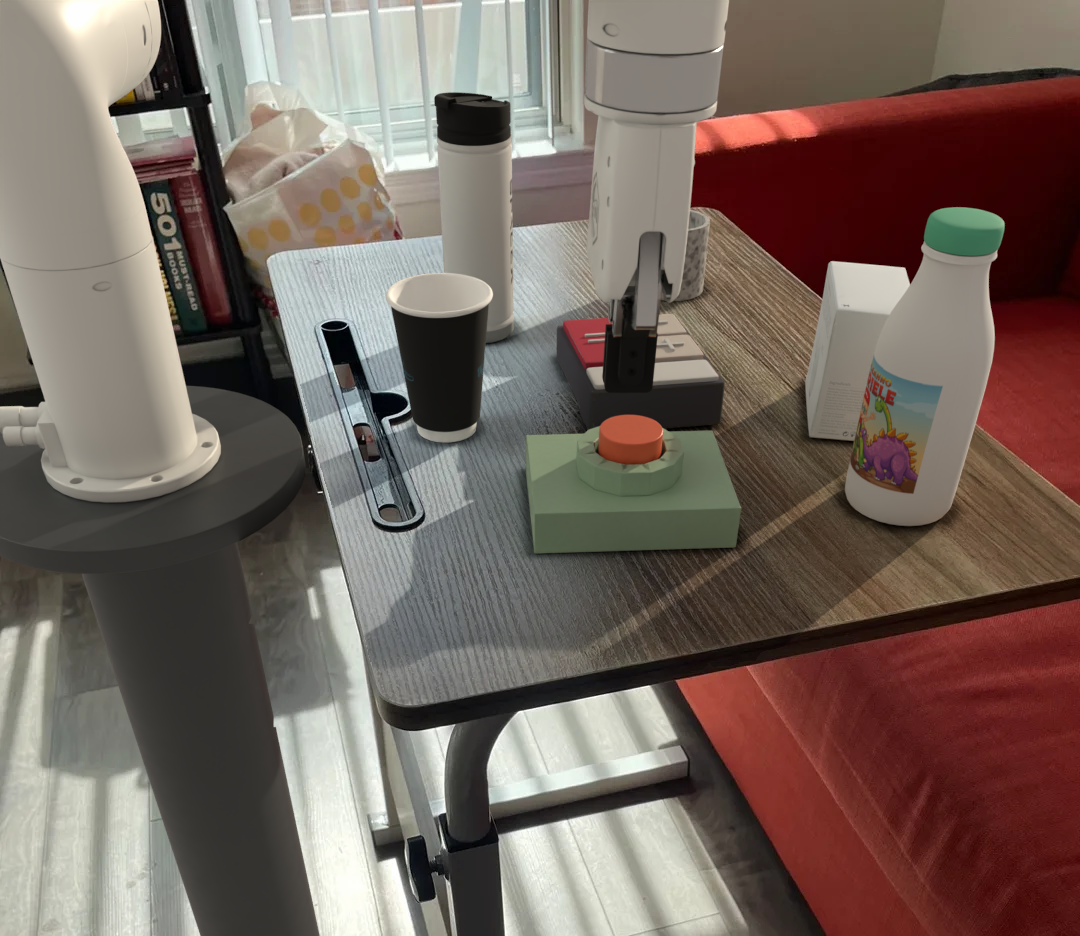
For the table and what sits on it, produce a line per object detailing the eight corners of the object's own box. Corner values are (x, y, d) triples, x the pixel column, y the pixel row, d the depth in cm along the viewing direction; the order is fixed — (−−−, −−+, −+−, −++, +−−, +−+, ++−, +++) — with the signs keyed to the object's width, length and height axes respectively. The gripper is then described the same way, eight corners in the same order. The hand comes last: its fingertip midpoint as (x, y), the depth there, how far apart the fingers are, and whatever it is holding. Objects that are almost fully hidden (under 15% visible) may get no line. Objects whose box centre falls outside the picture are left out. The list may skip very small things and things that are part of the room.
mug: (641, 273, 115) (646, 205, 110) (706, 278, 114) (713, 210, 109) (627, 310, 107) (631, 240, 103) (696, 316, 106) (703, 245, 102)
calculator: (677, 308, 99) (727, 373, 87) (673, 356, 101) (722, 424, 90) (555, 316, 97) (590, 383, 86) (555, 364, 100) (589, 435, 88)
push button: (601, 468, 76) (602, 445, 75) (595, 437, 79) (596, 414, 78) (665, 466, 76) (667, 443, 75) (656, 436, 79) (658, 413, 78)
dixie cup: (378, 426, 90) (364, 289, 82) (454, 396, 94) (448, 264, 86) (438, 462, 85) (429, 322, 78) (516, 430, 89) (514, 294, 82)
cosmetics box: (891, 446, 88) (922, 315, 81) (808, 439, 88) (832, 309, 81) (880, 387, 95) (908, 263, 88) (804, 382, 96) (825, 258, 89)
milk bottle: (920, 470, 85) (993, 193, 72) (970, 523, 79) (1058, 233, 66) (826, 480, 84) (882, 201, 70) (870, 535, 78) (939, 242, 65)
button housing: (534, 553, 76) (534, 489, 73) (525, 473, 84) (525, 412, 81) (735, 547, 77) (745, 484, 73) (708, 468, 85) (715, 407, 82)
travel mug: (430, 330, 104) (415, 90, 90) (484, 311, 107) (477, 78, 94) (473, 351, 100) (464, 105, 87) (527, 331, 104) (526, 91, 90)
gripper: (574, 47, 67) (562, 340, 80) (599, 113, 56) (581, 442, 69) (696, 49, 68) (666, 340, 80) (744, 115, 57) (700, 441, 69)
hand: (626, 386), depth 74 cm, fingers closed
